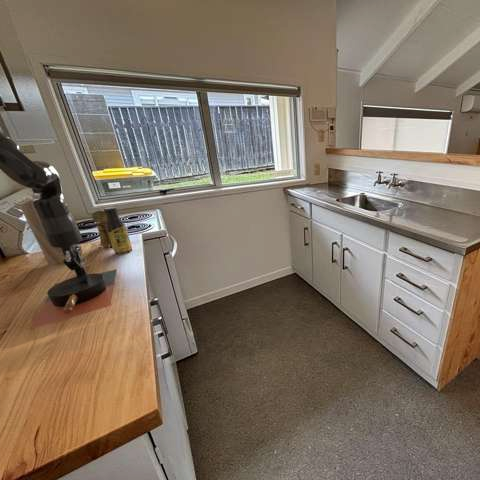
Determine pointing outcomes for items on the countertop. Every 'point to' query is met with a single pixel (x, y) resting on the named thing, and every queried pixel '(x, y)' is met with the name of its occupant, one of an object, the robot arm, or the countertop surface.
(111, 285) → the board
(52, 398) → the countertop surface
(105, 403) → the countertop surface
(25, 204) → the tube
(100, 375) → the countertop surface
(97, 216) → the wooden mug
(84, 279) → the pan
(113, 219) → the sauce bottle
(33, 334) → the countertop surface
